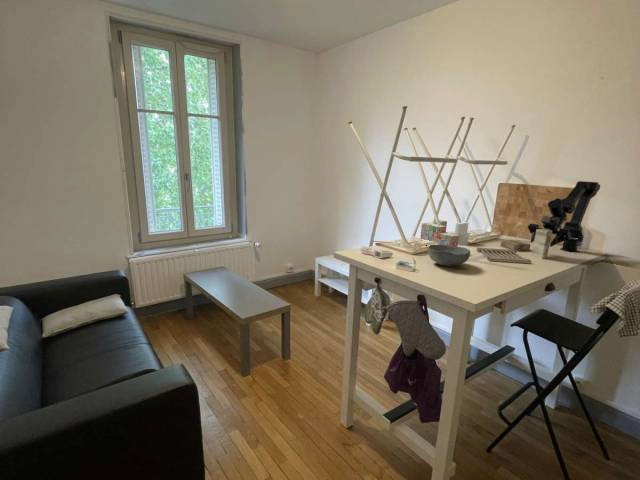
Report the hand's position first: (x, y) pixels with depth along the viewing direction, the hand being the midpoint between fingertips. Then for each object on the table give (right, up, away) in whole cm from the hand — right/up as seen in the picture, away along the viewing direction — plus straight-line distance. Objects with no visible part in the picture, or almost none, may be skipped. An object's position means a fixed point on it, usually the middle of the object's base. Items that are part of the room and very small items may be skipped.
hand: (540, 244), depth 170 cm
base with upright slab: (-30, 0, +27) cm, 40 cm away
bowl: (-54, -9, -17) cm, 57 cm away
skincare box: (-40, +1, +31) cm, 51 cm away
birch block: (+1, -7, +2) cm, 7 cm away
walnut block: (-2, -3, +18) cm, 19 cm away
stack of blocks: (-47, -3, +13) cm, 49 cm away
